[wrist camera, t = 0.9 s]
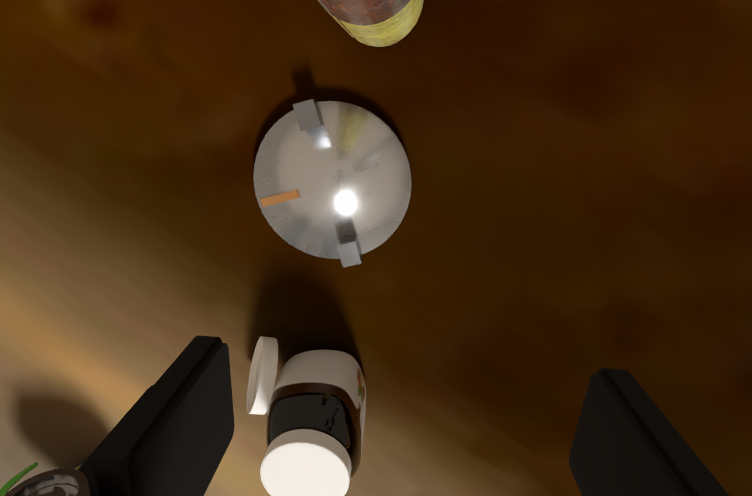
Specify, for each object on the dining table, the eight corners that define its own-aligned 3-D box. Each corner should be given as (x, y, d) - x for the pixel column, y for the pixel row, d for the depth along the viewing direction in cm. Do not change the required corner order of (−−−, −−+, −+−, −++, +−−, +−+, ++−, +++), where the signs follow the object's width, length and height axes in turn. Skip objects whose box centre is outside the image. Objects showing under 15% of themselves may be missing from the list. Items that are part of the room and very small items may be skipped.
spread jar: (372, 418, 44) (363, 524, 33) (267, 424, 45) (224, 529, 34) (357, 316, 40) (341, 399, 29) (242, 325, 41) (185, 408, 30)
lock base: (388, 78, 33) (387, 77, 30) (426, 237, 37) (428, 248, 35) (235, 122, 35) (222, 124, 32) (287, 269, 39) (279, 281, 36)
